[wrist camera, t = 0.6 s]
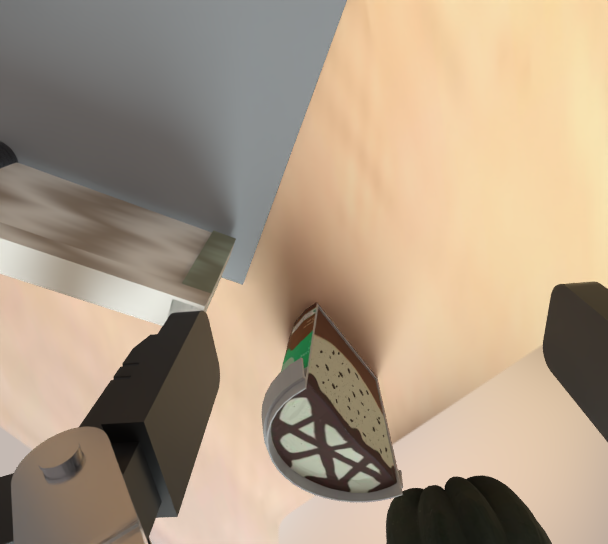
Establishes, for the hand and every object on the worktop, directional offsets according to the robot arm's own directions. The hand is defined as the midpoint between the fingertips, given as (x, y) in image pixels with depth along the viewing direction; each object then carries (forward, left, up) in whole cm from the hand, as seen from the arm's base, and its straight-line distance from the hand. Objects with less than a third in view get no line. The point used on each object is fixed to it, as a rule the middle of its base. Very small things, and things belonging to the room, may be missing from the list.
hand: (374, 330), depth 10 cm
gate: (+8, -12, -17) cm, 23 cm away
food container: (+16, +5, -19) cm, 26 cm away
